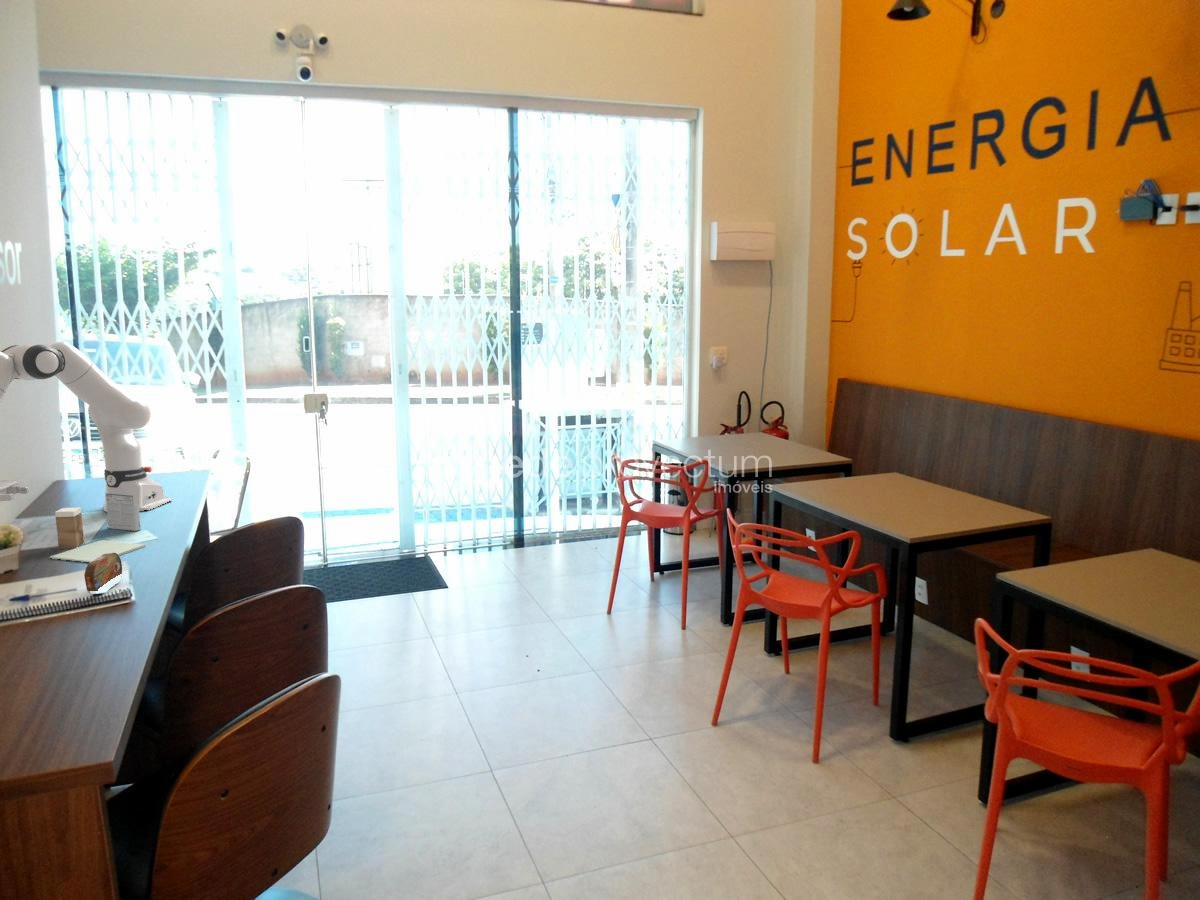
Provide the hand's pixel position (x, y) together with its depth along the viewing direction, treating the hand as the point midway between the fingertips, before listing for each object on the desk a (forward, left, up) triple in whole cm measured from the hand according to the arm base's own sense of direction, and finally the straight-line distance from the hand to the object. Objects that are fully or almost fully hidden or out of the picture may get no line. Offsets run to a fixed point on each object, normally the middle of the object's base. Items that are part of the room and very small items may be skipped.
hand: (20, 493), depth 259 cm
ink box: (-25, +11, -16) cm, 32 cm away
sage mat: (-2, +24, -16) cm, 29 cm away
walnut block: (-5, +11, -16) cm, 20 cm away
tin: (+23, +51, -16) cm, 58 cm away
